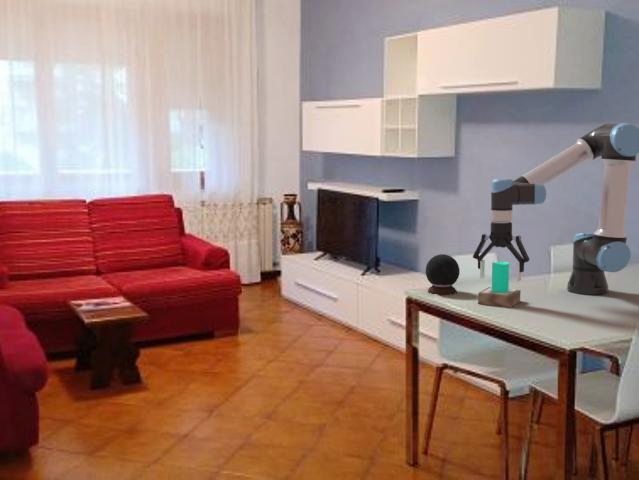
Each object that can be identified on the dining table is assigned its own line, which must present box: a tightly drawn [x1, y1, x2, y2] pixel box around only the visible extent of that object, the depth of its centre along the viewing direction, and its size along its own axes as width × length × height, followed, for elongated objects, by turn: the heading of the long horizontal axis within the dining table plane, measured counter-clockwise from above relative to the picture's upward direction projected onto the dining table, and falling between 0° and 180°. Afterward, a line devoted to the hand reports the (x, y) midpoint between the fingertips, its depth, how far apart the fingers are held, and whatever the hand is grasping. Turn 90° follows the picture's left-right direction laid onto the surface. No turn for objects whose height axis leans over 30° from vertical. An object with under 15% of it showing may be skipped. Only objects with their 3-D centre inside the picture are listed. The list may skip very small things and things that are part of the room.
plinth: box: [477, 286, 521, 309], centre depth 263 cm, size 12×12×4 cm
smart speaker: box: [425, 253, 460, 296], centre depth 281 cm, size 13×13×15 cm
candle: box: [491, 260, 510, 293], centre depth 262 cm, size 6×6×12 cm
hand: (500, 279), depth 263 cm, fingers open, 13 cm apart
